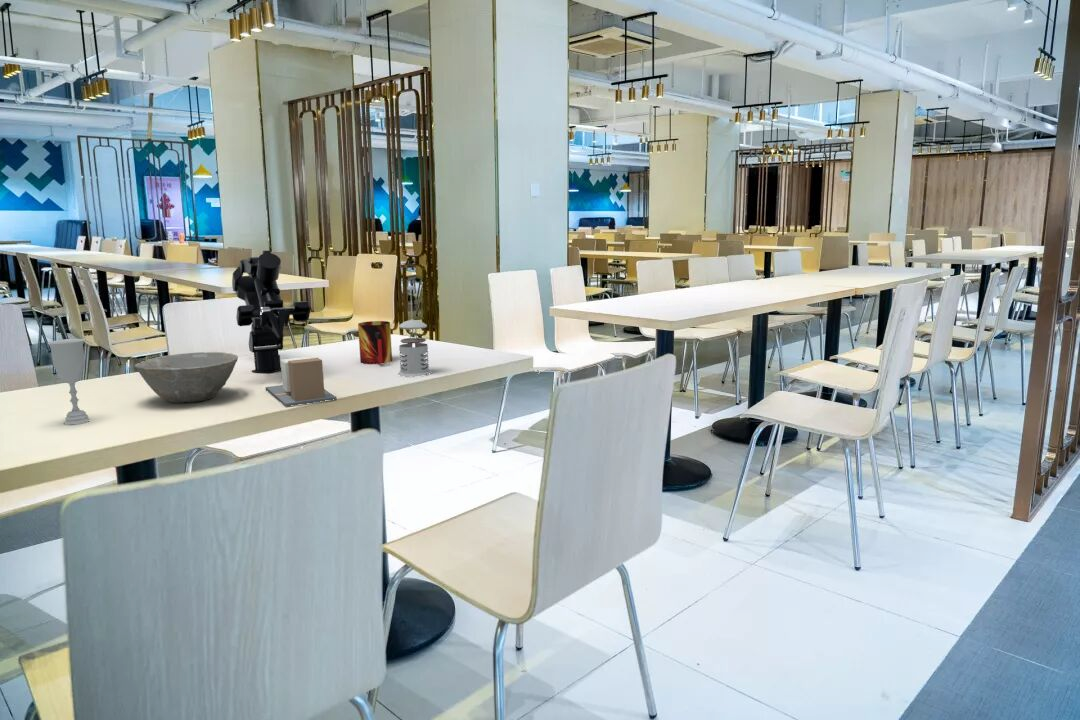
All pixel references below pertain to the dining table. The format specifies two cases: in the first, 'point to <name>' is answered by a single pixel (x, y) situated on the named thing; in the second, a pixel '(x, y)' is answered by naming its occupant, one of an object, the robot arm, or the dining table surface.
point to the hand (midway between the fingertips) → (280, 337)
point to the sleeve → (287, 372)
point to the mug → (375, 342)
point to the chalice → (70, 372)
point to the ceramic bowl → (187, 375)
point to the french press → (413, 349)
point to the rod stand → (303, 384)
